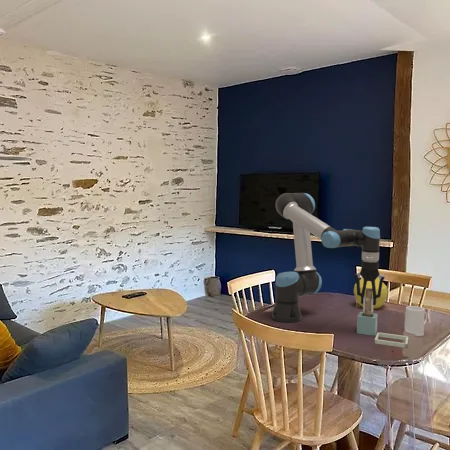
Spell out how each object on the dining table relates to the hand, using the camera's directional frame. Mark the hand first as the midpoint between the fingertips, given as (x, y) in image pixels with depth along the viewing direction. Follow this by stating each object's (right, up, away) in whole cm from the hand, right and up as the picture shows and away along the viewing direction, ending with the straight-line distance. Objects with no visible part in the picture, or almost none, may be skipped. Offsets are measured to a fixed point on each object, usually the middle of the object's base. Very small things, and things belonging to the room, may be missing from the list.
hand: (368, 311), depth 211 cm
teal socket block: (0, -11, +1) cm, 11 cm away
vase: (+16, -7, +50) cm, 53 cm away
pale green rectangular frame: (+6, -12, -12) cm, 18 cm away
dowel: (0, -10, +1) cm, 10 cm away
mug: (+24, -11, +3) cm, 26 cm away
